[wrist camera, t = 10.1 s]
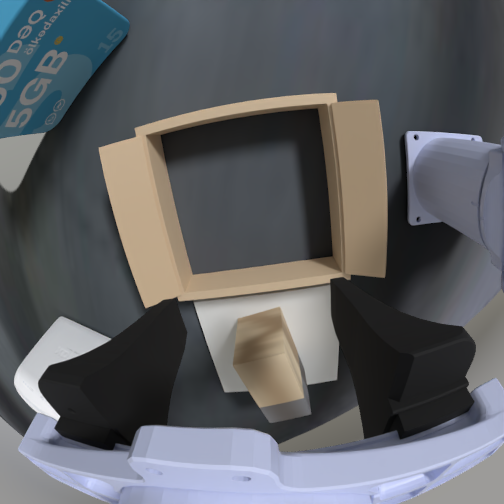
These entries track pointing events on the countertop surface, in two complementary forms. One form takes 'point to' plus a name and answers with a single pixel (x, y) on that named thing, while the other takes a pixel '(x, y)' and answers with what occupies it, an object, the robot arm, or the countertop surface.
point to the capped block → (271, 365)
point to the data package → (50, 57)
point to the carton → (263, 277)
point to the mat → (298, 321)
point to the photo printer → (53, 359)
